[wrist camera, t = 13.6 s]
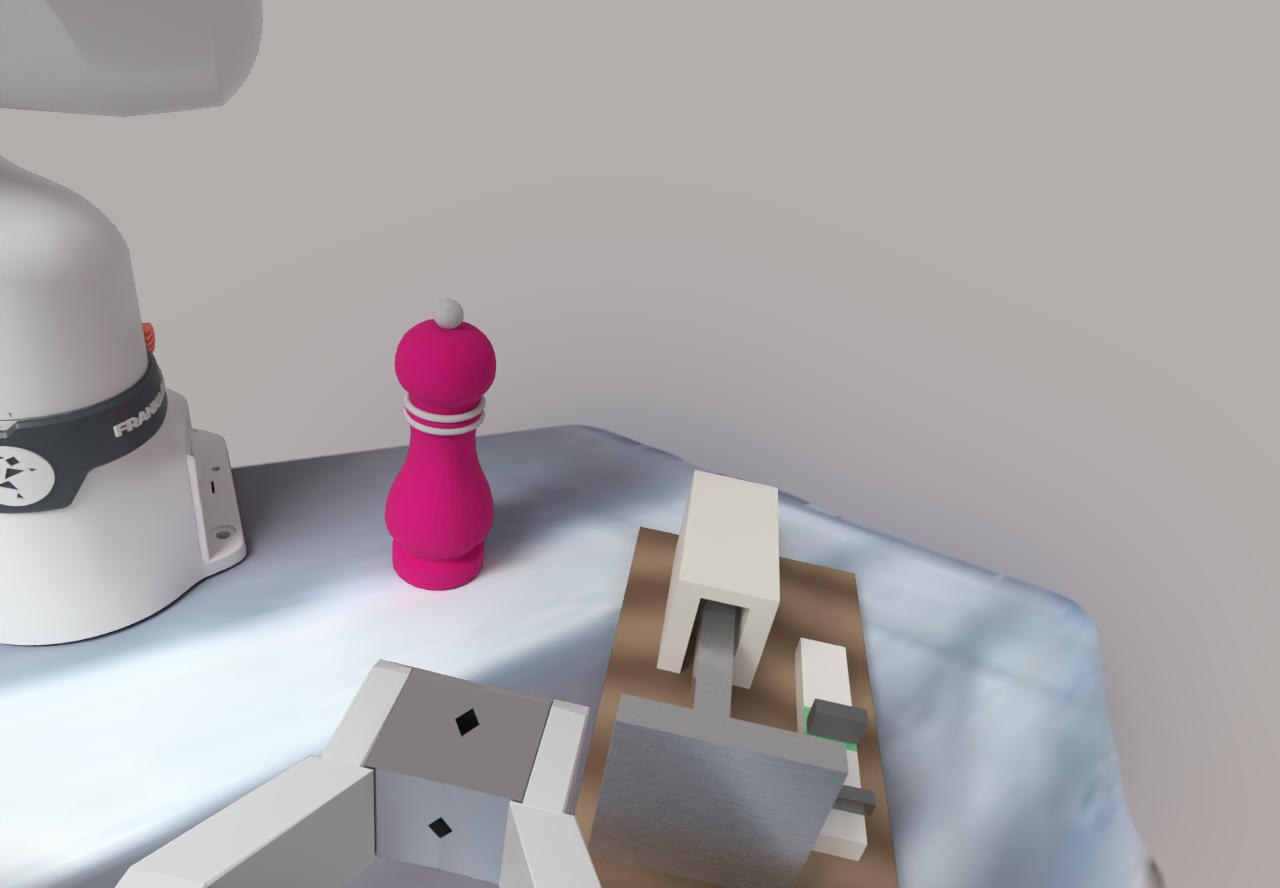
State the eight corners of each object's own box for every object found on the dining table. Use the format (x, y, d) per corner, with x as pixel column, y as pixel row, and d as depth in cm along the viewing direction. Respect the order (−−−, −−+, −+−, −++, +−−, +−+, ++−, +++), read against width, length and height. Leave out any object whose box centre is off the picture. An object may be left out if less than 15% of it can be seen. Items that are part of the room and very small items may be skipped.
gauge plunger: (868, 920, 39) (942, 794, 34) (586, 854, 39) (616, 720, 34) (838, 631, 56) (884, 518, 50) (640, 588, 56) (666, 471, 51)
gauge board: (906, 1005, 37) (914, 995, 37) (549, 921, 38) (552, 910, 37) (850, 583, 63) (854, 573, 62) (638, 536, 63) (640, 526, 63)
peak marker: (858, 744, 46) (868, 723, 45) (807, 732, 46) (816, 712, 45) (857, 730, 47) (866, 709, 46) (806, 718, 47) (815, 698, 46)
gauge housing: (749, 689, 51) (779, 601, 47) (656, 668, 51) (678, 579, 47) (752, 567, 61) (777, 487, 57) (675, 550, 61) (694, 469, 57)
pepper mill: (461, 609, 54) (478, 338, 43) (364, 576, 55) (358, 304, 44) (506, 547, 60) (530, 296, 49) (418, 518, 61) (423, 267, 50)
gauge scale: (858, 861, 42) (867, 844, 41) (802, 848, 42) (810, 831, 41) (838, 663, 54) (845, 647, 53) (794, 653, 54) (800, 637, 53)
